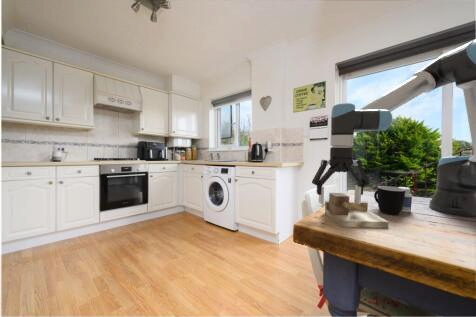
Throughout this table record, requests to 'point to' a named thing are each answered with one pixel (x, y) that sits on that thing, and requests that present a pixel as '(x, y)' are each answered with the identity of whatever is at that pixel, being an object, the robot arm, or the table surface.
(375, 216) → the board
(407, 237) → the table surface
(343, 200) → the block
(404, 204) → the pill bottle
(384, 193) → the mug
